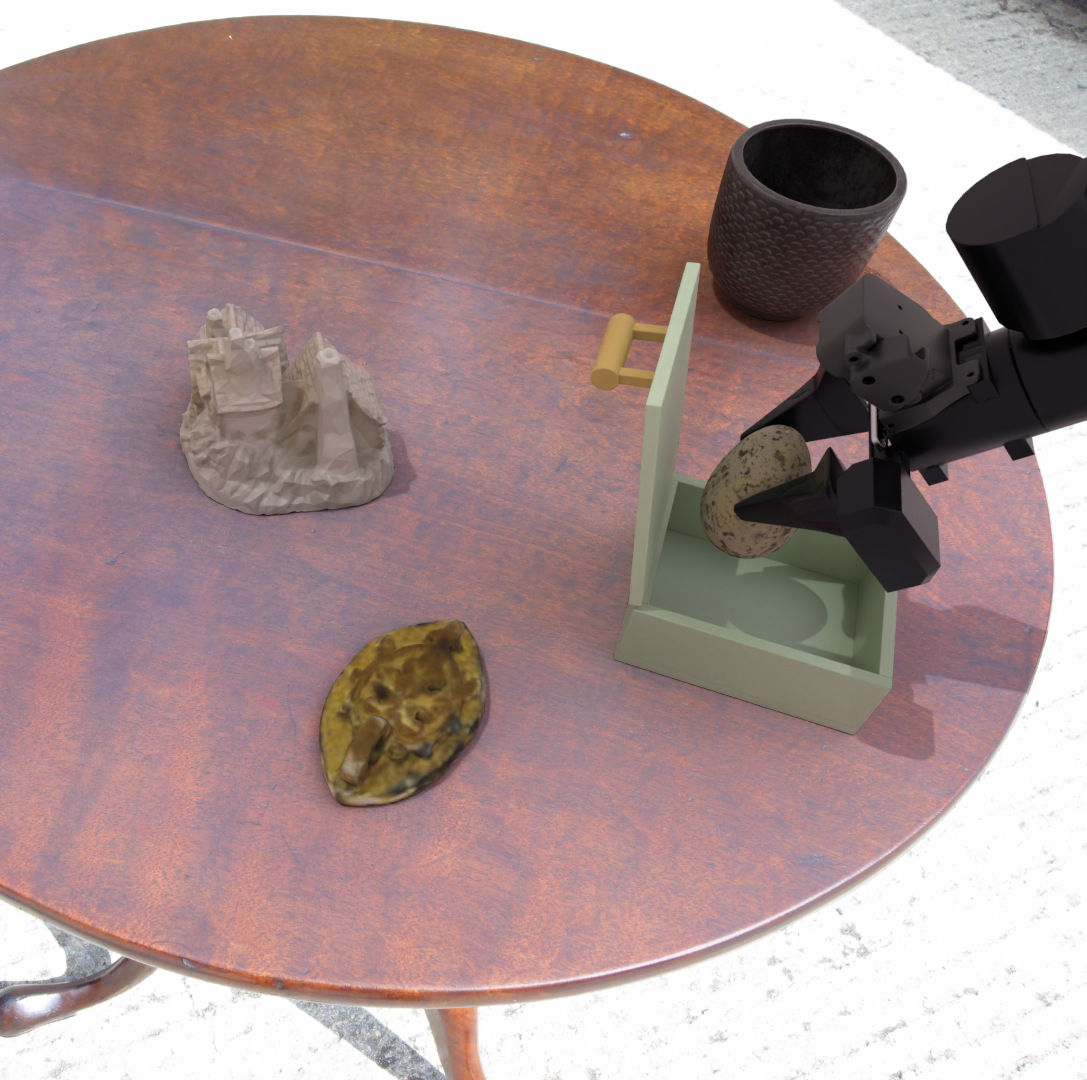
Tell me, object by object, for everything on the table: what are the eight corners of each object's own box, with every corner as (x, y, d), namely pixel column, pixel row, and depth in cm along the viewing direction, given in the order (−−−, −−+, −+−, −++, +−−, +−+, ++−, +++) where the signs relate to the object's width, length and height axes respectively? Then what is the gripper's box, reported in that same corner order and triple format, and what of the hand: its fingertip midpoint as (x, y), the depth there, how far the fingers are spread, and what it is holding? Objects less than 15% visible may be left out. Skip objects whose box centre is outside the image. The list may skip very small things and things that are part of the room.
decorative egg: (667, 537, 68) (711, 426, 60) (726, 492, 71) (775, 381, 63) (743, 596, 65) (798, 488, 57) (801, 548, 68) (862, 438, 60)
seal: (394, 608, 74) (280, 780, 66) (391, 564, 71) (270, 739, 62) (519, 657, 71) (416, 845, 62) (522, 613, 67) (413, 806, 59)
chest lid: (700, 262, 61) (623, 255, 63) (661, 406, 54) (574, 394, 55) (676, 466, 73) (612, 456, 75) (641, 606, 66) (570, 593, 67)
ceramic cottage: (396, 515, 78) (400, 349, 66) (170, 519, 78) (136, 353, 66) (390, 378, 88) (392, 215, 77) (191, 381, 88) (164, 218, 77)
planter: (879, 318, 94) (947, 189, 84) (757, 363, 90) (812, 233, 80) (774, 230, 102) (825, 102, 91) (656, 269, 97) (695, 139, 87)
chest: (866, 586, 75) (901, 535, 71) (853, 735, 68) (892, 689, 63) (648, 523, 78) (668, 470, 74) (613, 659, 71) (633, 609, 66)
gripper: (952, 155, 55) (683, 286, 66) (977, 394, 44) (647, 507, 54) (1035, 306, 60) (772, 405, 71) (1076, 556, 49) (757, 631, 59)
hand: (740, 476), depth 64 cm, fingers closed on decorative egg, 5 cm apart
